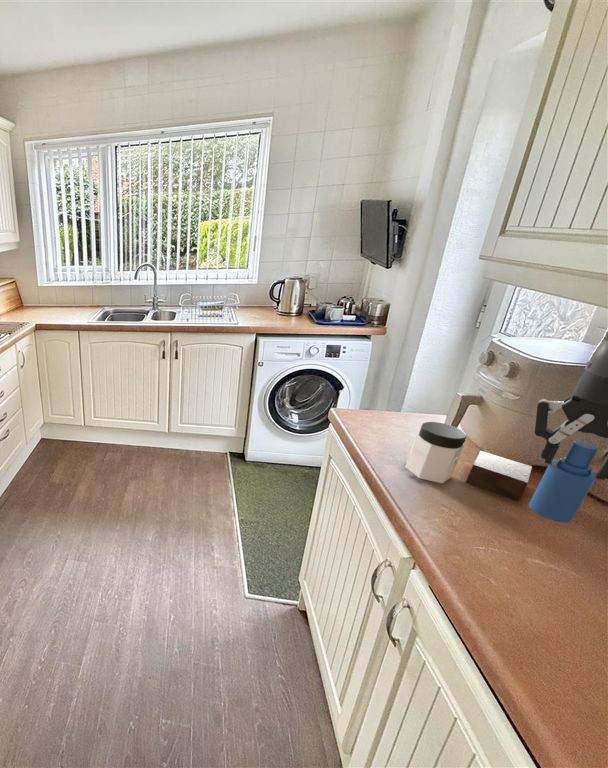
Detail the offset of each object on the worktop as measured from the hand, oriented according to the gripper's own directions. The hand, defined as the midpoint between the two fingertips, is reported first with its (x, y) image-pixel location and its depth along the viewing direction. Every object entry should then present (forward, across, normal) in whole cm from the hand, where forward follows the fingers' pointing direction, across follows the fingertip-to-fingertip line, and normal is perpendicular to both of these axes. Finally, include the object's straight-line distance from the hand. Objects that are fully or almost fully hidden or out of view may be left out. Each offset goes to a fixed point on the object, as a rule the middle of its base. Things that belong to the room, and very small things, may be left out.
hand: (572, 468), depth 66 cm
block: (+20, +7, -26) cm, 34 cm away
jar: (+20, +18, -19) cm, 34 cm away
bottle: (+9, 0, 0) cm, 9 cm away
